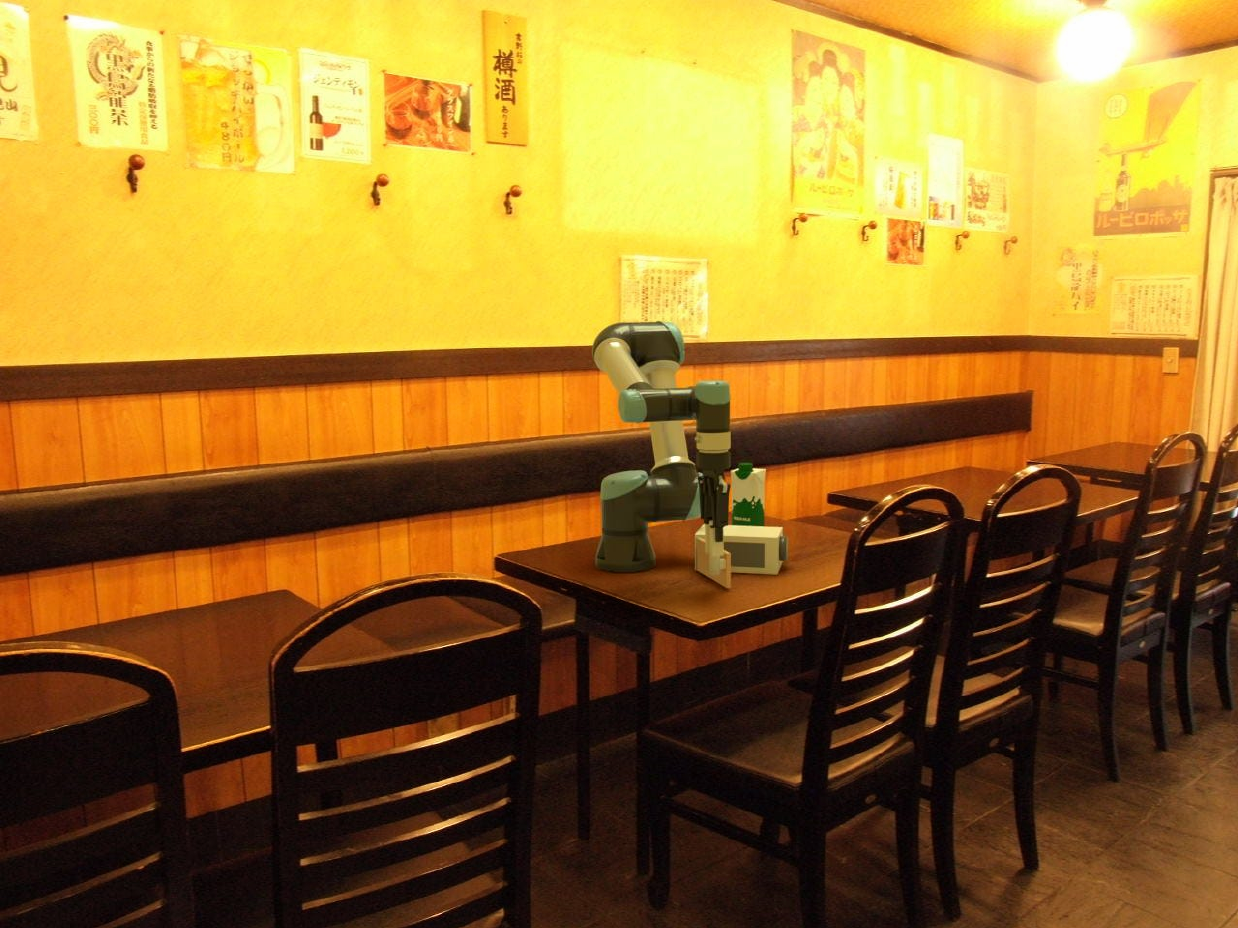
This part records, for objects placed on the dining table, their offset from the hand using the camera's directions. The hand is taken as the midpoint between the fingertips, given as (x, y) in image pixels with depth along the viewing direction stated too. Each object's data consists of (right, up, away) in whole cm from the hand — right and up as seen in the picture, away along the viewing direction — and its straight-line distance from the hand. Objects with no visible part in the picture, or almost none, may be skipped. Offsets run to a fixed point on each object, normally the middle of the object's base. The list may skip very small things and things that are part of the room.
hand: (714, 553), depth 221 cm
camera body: (+8, -5, +22) cm, 24 cm away
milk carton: (+16, +1, +60) cm, 62 cm away
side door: (-1, -7, +9) cm, 11 cm away
